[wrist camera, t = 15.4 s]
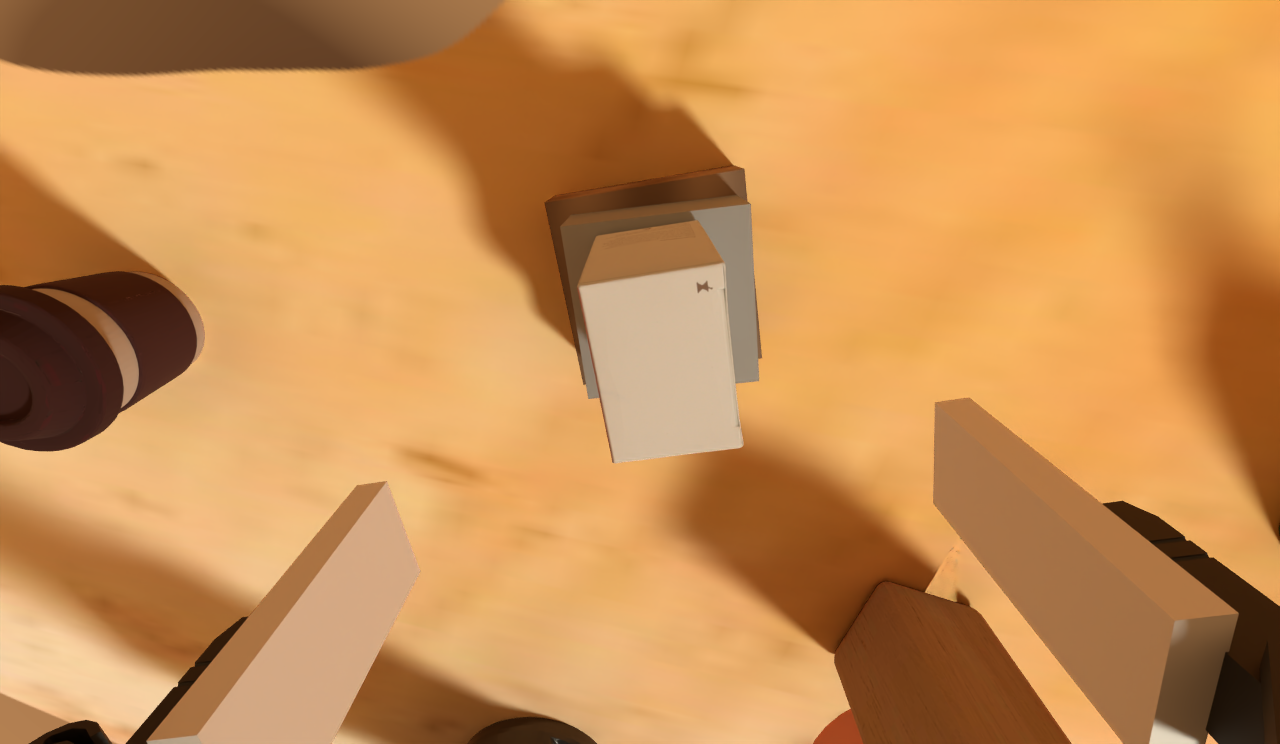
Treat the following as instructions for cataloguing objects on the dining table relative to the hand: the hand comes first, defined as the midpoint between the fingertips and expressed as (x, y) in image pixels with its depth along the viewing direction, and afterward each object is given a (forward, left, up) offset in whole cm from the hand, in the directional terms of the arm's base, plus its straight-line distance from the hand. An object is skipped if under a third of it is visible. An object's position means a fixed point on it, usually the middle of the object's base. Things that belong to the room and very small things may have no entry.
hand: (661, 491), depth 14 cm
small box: (0, 0, -20) cm, 20 cm away
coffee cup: (-37, +1, -33) cm, 49 cm away
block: (+17, -37, -29) cm, 50 cm away
